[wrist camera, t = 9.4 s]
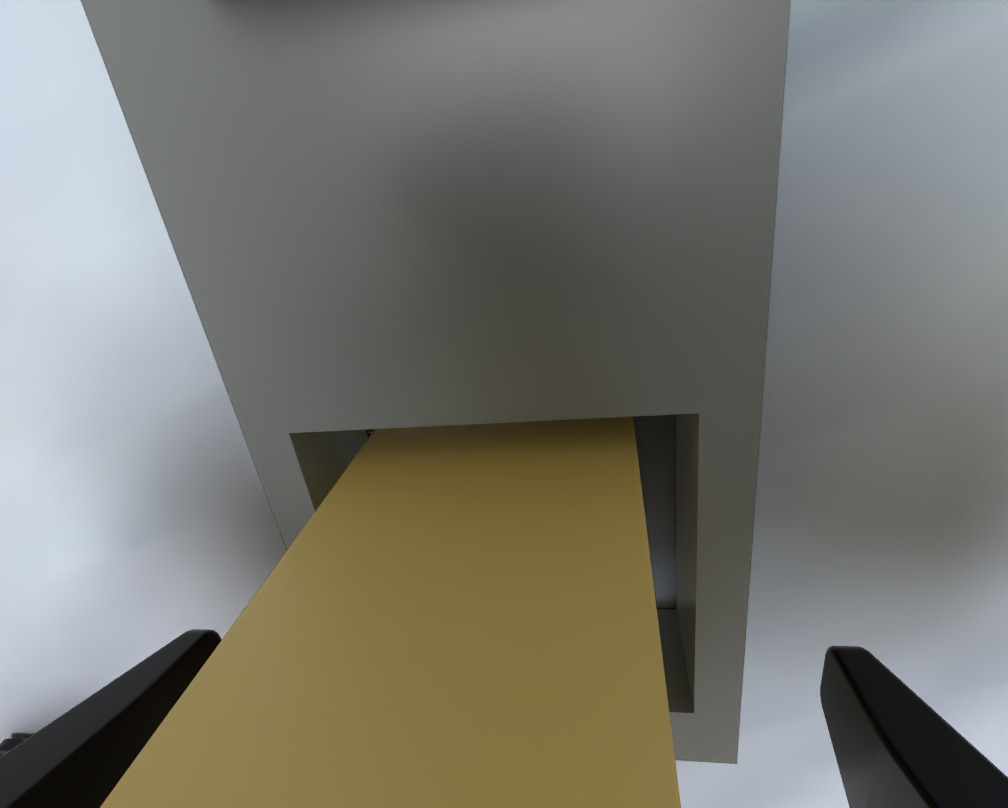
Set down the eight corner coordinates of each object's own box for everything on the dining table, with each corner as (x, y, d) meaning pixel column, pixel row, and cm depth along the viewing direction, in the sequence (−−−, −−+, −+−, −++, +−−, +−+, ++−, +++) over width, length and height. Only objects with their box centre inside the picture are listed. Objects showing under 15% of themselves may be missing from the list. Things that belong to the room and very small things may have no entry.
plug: (436, 576, 13) (148, 1385, 5) (396, 401, 11) (-216, 1241, 3) (636, 578, 12) (721, 1568, 4) (629, 388, 10) (769, 1541, 2)
